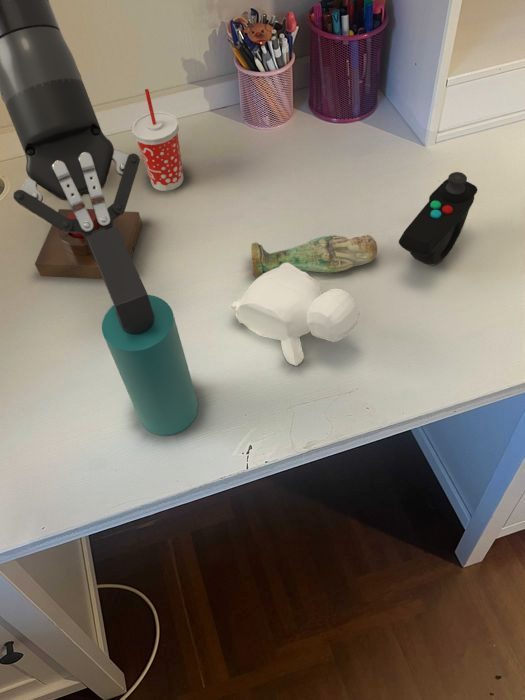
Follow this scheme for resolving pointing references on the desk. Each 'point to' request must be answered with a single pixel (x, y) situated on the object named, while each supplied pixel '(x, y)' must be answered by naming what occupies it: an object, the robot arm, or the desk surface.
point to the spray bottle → (144, 341)
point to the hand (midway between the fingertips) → (112, 265)
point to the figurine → (318, 255)
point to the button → (93, 218)
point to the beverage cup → (159, 147)
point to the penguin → (295, 310)
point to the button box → (81, 249)
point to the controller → (440, 220)
